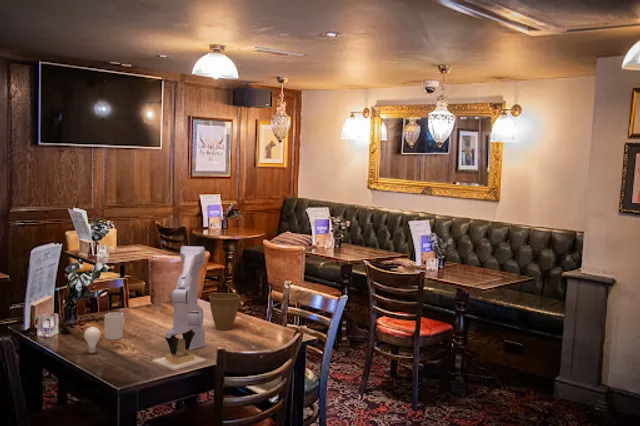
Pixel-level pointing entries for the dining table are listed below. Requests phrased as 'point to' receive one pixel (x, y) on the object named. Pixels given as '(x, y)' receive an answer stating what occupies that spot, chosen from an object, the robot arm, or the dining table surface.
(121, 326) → the mug
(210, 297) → the plant pot
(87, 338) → the lightbulb
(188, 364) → the socket plate
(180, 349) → the birch peg
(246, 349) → the dining table surface
